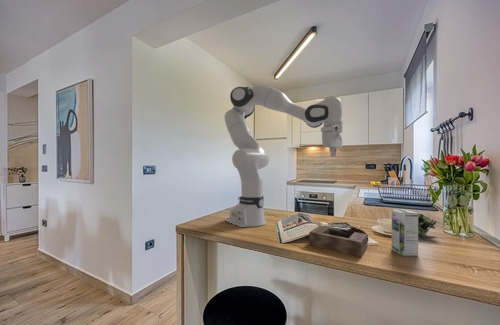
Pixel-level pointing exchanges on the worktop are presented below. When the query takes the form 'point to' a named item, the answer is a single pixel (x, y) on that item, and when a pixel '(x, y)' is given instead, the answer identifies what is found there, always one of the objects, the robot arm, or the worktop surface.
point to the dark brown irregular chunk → (344, 232)
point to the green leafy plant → (424, 224)
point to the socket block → (338, 241)
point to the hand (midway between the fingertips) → (333, 157)
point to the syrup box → (405, 232)
